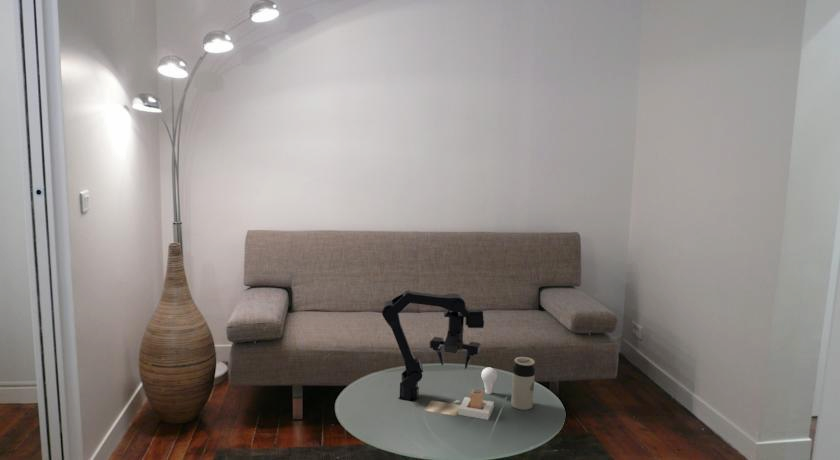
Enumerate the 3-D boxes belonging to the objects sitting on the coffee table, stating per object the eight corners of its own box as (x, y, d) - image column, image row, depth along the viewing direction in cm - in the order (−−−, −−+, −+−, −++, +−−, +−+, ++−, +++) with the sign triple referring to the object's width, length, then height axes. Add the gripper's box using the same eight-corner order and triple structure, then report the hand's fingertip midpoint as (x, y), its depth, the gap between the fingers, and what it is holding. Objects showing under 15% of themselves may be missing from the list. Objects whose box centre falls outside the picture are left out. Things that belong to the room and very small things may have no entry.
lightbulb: (495, 398, 233) (496, 371, 231) (479, 396, 234) (480, 370, 232) (496, 392, 239) (497, 365, 237) (481, 390, 240) (482, 364, 238)
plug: (469, 411, 219) (470, 392, 218) (472, 406, 223) (473, 387, 222) (480, 413, 218) (481, 393, 217) (482, 408, 222) (483, 389, 221)
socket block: (458, 416, 218) (458, 406, 217) (464, 404, 227) (465, 395, 227) (488, 421, 215) (488, 411, 214) (493, 409, 224) (493, 400, 223)
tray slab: (424, 411, 220) (424, 410, 220) (431, 401, 229) (431, 400, 229) (455, 417, 217) (455, 416, 216) (461, 406, 225) (461, 405, 225)
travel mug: (507, 405, 227) (509, 360, 225) (518, 399, 233) (521, 355, 230) (524, 412, 222) (527, 366, 219) (536, 405, 228) (539, 360, 225)
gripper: (425, 331, 222) (424, 370, 225) (475, 337, 217) (473, 378, 219) (434, 322, 233) (433, 360, 235) (481, 328, 227) (479, 367, 230)
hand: (454, 366), depth 230 cm, fingers open, 9 cm apart
